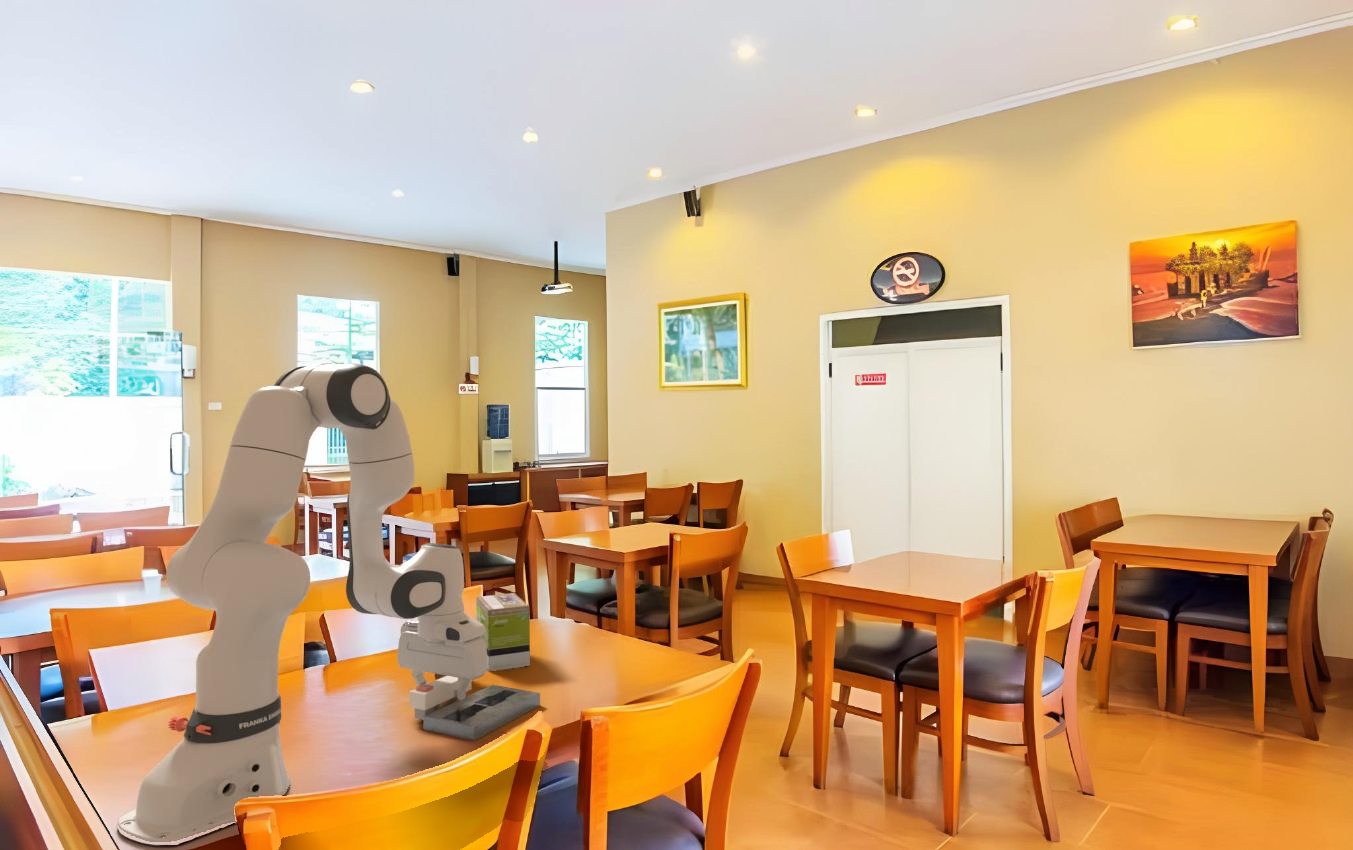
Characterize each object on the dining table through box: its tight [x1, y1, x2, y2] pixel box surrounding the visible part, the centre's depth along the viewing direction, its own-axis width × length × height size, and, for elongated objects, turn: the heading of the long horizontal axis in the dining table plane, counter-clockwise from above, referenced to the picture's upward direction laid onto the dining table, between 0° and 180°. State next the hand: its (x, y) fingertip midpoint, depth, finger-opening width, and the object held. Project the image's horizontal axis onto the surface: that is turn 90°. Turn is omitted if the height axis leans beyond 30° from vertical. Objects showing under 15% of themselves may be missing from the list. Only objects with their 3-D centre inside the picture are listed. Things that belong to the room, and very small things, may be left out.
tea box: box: [475, 592, 531, 672], centre depth 191 cm, size 15×10×15 cm, turn 25°
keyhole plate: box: [422, 684, 541, 742], centre depth 154 cm, size 20×12×2 cm, turn 154°
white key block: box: [408, 676, 472, 720], centre depth 156 cm, size 13×4×6 cm, turn 154°
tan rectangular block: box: [435, 697, 458, 711], centre depth 156 cm, size 6×4×3 cm
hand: (441, 695), depth 156 cm, fingers open, 8 cm apart
